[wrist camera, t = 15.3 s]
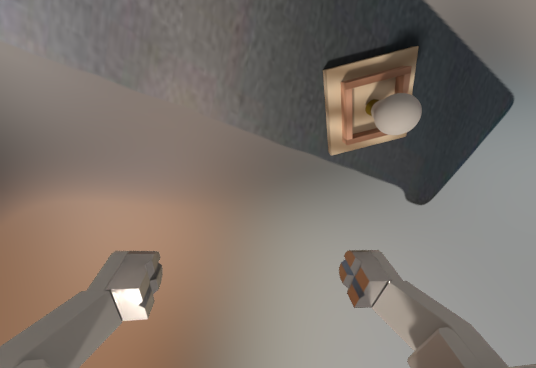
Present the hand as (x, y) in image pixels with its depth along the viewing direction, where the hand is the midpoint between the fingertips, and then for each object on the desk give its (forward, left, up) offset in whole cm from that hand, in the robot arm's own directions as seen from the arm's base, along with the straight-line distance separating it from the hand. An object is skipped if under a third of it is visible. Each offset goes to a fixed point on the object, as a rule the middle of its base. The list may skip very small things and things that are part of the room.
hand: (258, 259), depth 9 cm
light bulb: (+4, +22, -30) cm, 37 cm away
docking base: (+4, +22, -31) cm, 38 cm away
